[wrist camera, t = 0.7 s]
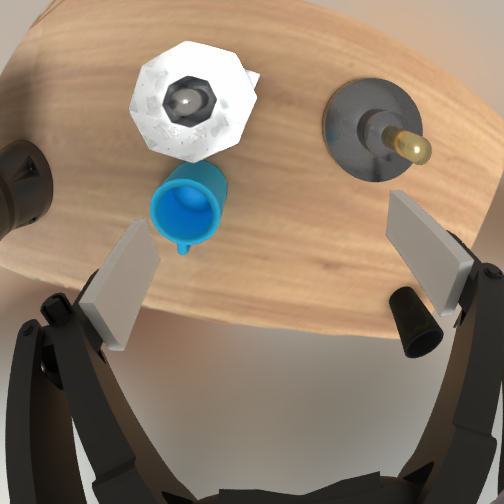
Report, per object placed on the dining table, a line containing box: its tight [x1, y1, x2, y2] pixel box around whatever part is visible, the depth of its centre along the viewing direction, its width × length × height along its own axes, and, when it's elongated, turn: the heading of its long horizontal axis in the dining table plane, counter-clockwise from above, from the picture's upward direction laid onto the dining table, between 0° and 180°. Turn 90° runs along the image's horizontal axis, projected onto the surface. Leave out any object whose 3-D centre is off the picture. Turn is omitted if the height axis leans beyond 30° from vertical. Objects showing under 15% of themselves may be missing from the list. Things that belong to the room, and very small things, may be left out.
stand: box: [170, 69, 260, 148], centre depth 25 cm, size 10×10×12 cm
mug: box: [150, 160, 227, 255], centre depth 35 cm, size 12×8×8 cm
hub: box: [322, 78, 432, 182], centre depth 26 cm, size 14×14×12 cm
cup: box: [389, 287, 444, 358], centre depth 43 cm, size 8×8×12 cm
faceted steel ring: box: [129, 41, 257, 163], centre depth 24 cm, size 11×11×4 cm
